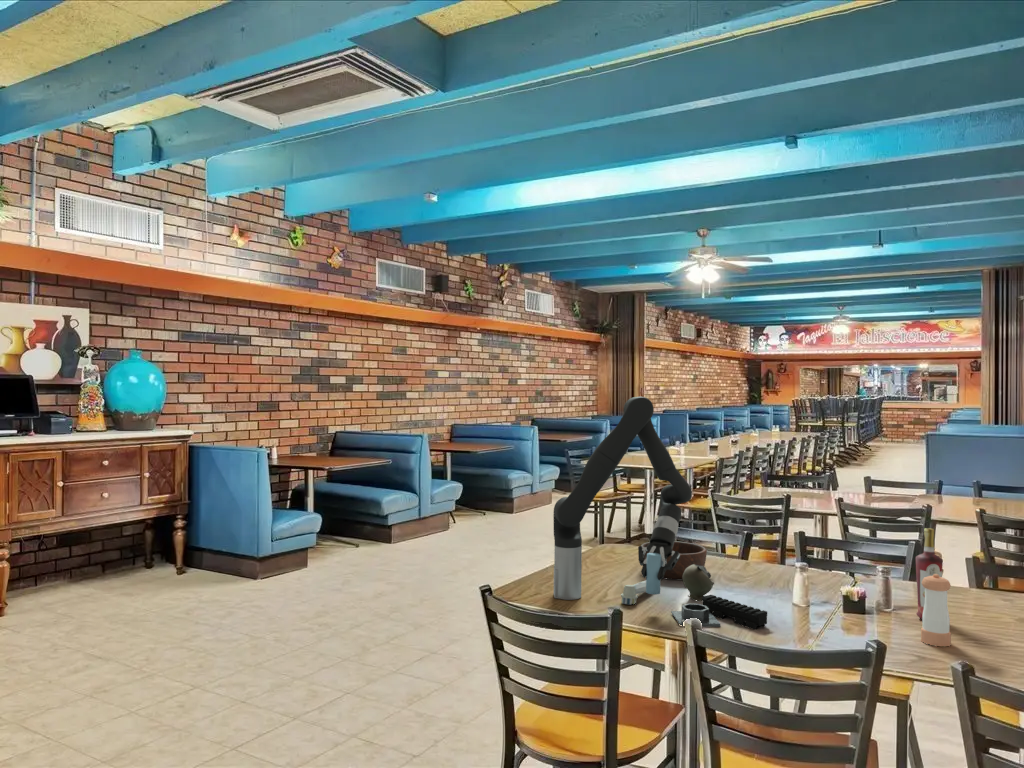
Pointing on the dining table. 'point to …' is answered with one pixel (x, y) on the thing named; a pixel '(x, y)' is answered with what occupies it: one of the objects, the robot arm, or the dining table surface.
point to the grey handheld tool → (632, 592)
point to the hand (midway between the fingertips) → (651, 577)
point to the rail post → (653, 573)
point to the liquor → (926, 567)
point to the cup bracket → (696, 615)
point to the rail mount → (735, 611)
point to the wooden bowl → (684, 558)
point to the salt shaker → (936, 612)
